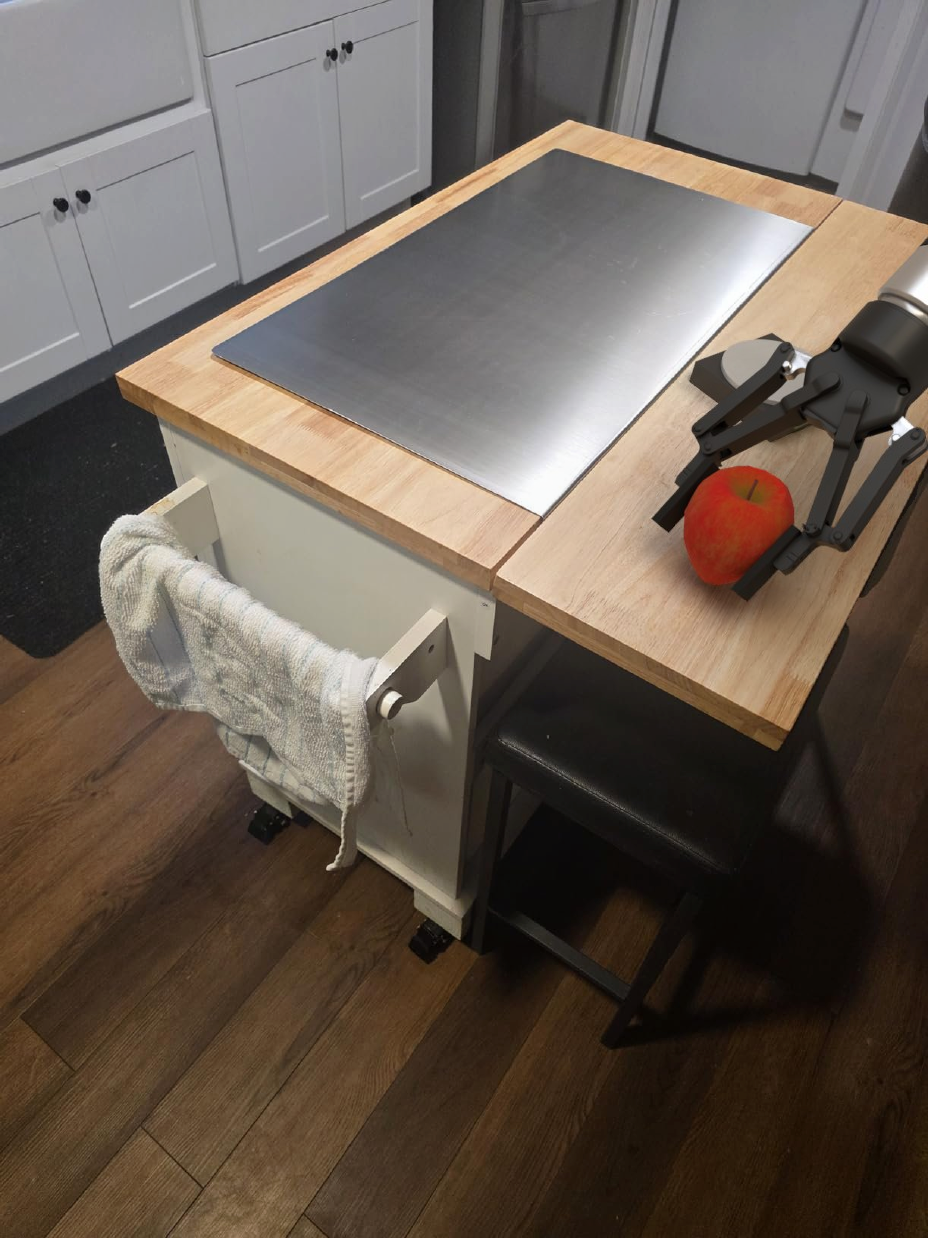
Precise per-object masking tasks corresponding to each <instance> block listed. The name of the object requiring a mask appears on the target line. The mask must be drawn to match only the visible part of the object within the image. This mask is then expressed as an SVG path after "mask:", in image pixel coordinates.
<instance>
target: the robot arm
mask: <svg viewBox="0 0 928 1238" xmlns="http://www.w3.org/2000/svg"><path fill="white" fill-rule="evenodd" d="M876 298H877V299H874V300H870V301H868V302H867V303H865V305H864V306H863V307H862V308H861V309H860V310H859V311H858V312H857V314H856V315H855V316H854V317H853V318H852V319H851V320H850V321H849V322H848V324H846V326H844V328H843V329H842V330H841V331H840V332H839V333H838V335H837V336H836V338H835V339H834V340H833V342H832V343H831V344H830V345H829V346H828V348H826V349H825V350H824V351H822V352H820V353H817V354H815V355H814V357H810V356H808V355H805V354H803V353H801V352H798V351H796V350H795V349H794V348H793V346H794V345H793V344H792V342H790V341H785V342H783V343H781V344H780V345H779V346H778V347H777V349H776V350H775V352H774V353H773V355H772V356H771V358H770V359H769V360H768V362H767V363H766V365H765V366H763V367H762V368H761V369H760V370H759V371H757V372H756V373H755V374H754V375H753V376H751V377H750V378H749V379H748V380H746V381H745V382H744V383H743V384H742V385H740V386H739V387H738V388H737V389H736V390H734V391H733V392H732V393H731V394H729V395H728V396H727V397H726V398H725V399H723V400H722V401H721V402H720V403H717V404H716V405H715V406H714V407H712V408H711V409H709V410H708V411H707V412H706V413H705V414H704V415H703V416H701V417H699V419H698V420H696V421H695V422H694V423H693V424H692V426H691V429H690V431H691V433H692V435H693V436H694V438H695V440H696V442H697V443H698V447H699V448H698V451H697V453H696V454H695V455H694V457H693V458H692V459H691V460H690V461H688V463H687V464H686V465H685V466H684V468H683V469H681V471H680V472H679V473H678V474H677V475H676V478H675V480H674V484H675V485H676V486H677V487H678V488H677V489H676V490H675V492H673V494H672V495H671V496H670V497H669V498H668V500H666V501H665V503H664V504H663V505H662V506H661V507H660V508H659V509H658V510H657V511H656V512H655V514H654V515H653V516H652V517H651V518H650V519H651V520H652V521H653V522H654V523H656V524H657V525H658V526H659V527H660V528H662V529H663V530H664V531H665V532H666V533H668V534H670V532H671V531H672V530H673V529H674V527H676V526H677V525H678V524H679V522H680V521H681V520H682V519H684V515H685V509H686V508H687V506H688V504H689V502H690V499H691V497H692V496H693V494H694V492H695V491H696V489H697V487H698V486H699V485H700V484H701V483H702V481H703V480H705V479H706V478H708V477H709V476H711V475H712V474H714V473H715V472H717V471H718V470H720V469H721V468H722V467H723V465H722V463H723V462H725V461H727V460H729V459H731V458H733V457H735V456H737V455H739V454H741V453H743V452H746V451H747V450H748V449H751V448H753V447H755V446H757V445H758V444H761V443H762V442H765V441H768V440H767V439H769V438H771V437H773V436H775V435H777V434H779V433H781V432H783V431H785V430H787V429H788V428H790V427H797V426H800V425H802V424H804V423H806V422H809V423H810V425H811V426H813V427H814V428H817V429H820V430H823V431H825V433H826V434H827V435H828V436H829V438H830V439H831V440H833V442H832V449H831V452H830V455H829V458H828V460H827V464H826V466H825V469H824V472H823V474H822V476H821V479H820V482H819V486H818V488H817V491H816V493H815V496H814V499H813V502H812V505H811V508H810V510H809V513H808V515H807V518H806V522H805V524H804V523H801V529H802V530H801V529H800V528H798V527H797V526H796V525H795V524H794V525H793V524H792V525H791V526H790V527H789V528H788V529H787V530H786V531H785V532H784V533H783V534H782V535H781V536H780V537H779V538H778V539H777V541H776V542H775V543H774V544H773V545H772V546H771V547H770V548H769V549H768V550H767V551H766V552H765V553H764V554H763V555H762V556H761V557H760V558H759V559H758V561H757V562H756V563H755V564H754V565H753V566H752V567H751V568H750V569H749V570H748V571H747V572H746V573H745V574H744V575H743V576H742V577H741V578H740V579H739V580H738V581H736V582H735V583H734V584H733V585H732V586H731V588H730V590H731V591H732V592H734V593H735V594H736V595H737V596H738V597H739V598H741V599H742V600H744V601H745V602H746V603H748V602H749V601H751V599H752V598H753V597H754V596H755V595H756V594H757V593H758V592H759V591H760V590H761V588H763V586H765V584H766V583H768V581H769V580H770V579H772V577H773V576H774V575H775V574H776V573H777V572H778V571H779V572H780V573H781V574H783V575H784V576H785V577H786V576H788V575H791V574H793V573H794V572H795V571H796V570H797V568H798V567H799V566H801V564H802V563H803V562H805V560H806V559H807V558H808V557H809V556H810V555H812V553H813V552H814V551H815V550H816V549H817V548H819V547H828V548H831V549H834V550H837V551H838V552H840V553H847V552H849V551H850V550H852V548H853V547H854V545H855V544H856V542H857V540H858V539H859V538H860V536H861V534H863V532H864V530H865V529H866V528H867V526H868V525H869V523H870V521H871V520H872V518H873V517H874V515H875V514H876V512H877V511H878V509H879V508H880V506H881V505H882V503H883V502H884V500H885V499H886V497H887V496H888V494H890V491H891V490H892V489H893V487H894V486H895V484H896V483H897V481H898V479H899V478H900V476H902V474H903V472H904V471H905V469H906V468H908V466H910V465H911V464H912V463H914V462H915V461H916V460H918V459H920V457H921V456H923V455H924V454H925V453H927V451H928V438H927V434H926V431H925V430H924V429H923V428H922V427H919V426H915V425H913V424H912V423H911V422H910V421H909V420H907V419H906V417H907V413H908V410H909V408H910V407H911V405H912V404H913V403H914V402H916V401H917V400H919V398H920V397H921V396H922V394H924V393H925V392H926V390H928V236H927V237H926V238H925V239H924V240H923V241H922V243H921V244H920V245H919V246H918V247H917V248H916V249H915V250H914V251H913V253H912V254H911V255H909V256H908V258H907V259H906V260H905V261H904V262H903V263H902V264H901V265H900V266H899V267H898V268H897V269H896V271H894V273H893V274H892V275H891V276H890V277H889V278H888V279H887V280H886V281H885V282H884V283H883V284H882V285H881V286H880V288H878V290H877V294H876ZM792 345H793V346H792ZM801 373H805V377H804V383H803V387H802V388H800V389H798V390H796V391H794V392H792V393H790V394H788V395H786V396H785V397H783V398H782V399H781V401H780V402H779V403H777V404H775V405H774V406H772V407H770V408H768V409H766V410H764V411H762V412H760V413H758V414H756V415H754V416H752V417H750V418H749V419H747V420H745V421H742V419H743V418H744V417H746V416H747V415H748V414H749V413H750V412H752V411H753V410H754V409H755V408H757V407H758V406H759V405H760V404H762V403H763V402H764V401H765V400H767V399H768V398H769V397H770V396H772V395H773V394H774V393H775V392H776V391H778V390H779V389H780V388H781V387H782V386H783V385H784V384H785V383H786V381H787V380H794V379H795V378H796V376H798V375H799V374H801ZM891 431H892V434H891V435H890V436H889V438H888V440H887V445H888V447H887V448H886V450H885V451H884V452H883V453H882V454H881V456H880V458H879V459H878V460H877V462H876V463H875V466H874V467H873V468H872V470H871V471H870V472H869V474H868V476H867V477H866V478H865V480H864V482H863V483H862V484H861V486H860V488H859V489H858V490H857V492H856V493H855V495H854V497H853V498H852V500H851V501H850V502H849V504H848V505H847V507H846V509H845V510H844V512H843V513H842V515H841V516H840V517H839V519H838V520H837V522H836V524H835V525H834V526H833V523H834V521H835V518H836V515H837V512H838V510H839V507H840V504H841V501H842V498H843V496H844V492H845V490H846V488H847V485H848V482H849V480H850V477H851V474H852V471H853V469H854V466H855V463H856V462H857V461H858V460H859V458H860V456H861V455H860V454H861V451H862V449H863V447H864V444H865V441H866V439H868V438H871V437H875V436H877V435H881V434H885V433H888V432H891Z"/></svg>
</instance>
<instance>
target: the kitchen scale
mask: <svg viewBox="0 0 928 1238" xmlns="http://www.w3.org/2000/svg"><path fill="white" fill-rule="evenodd" d="M783 342H786V341H785V340H784V339H782V338H781V337H779V336H778V335H776V334H775V333H773V332H770V333H768V334H766V335H762V336H760V337H756V338H754V339H746V340H742V341H739V342H736V343H734V344H732V345H730V346H729V347H728V348H727V349H724V350H722V351H719V352H716V353H714V354H712V355H709V356H706V357H703V358H700V359H698V360H696V361H695V362H694V364H693V368H692V371H691V374H690V377H689V382H690V383H691V384H693V386H695V387H696V388H697V389H699V390H700V391H702V392H703V393H704V394H706V395H707V396H708V397H710V398H711V399H712V400H714V401H715V402H717V404H719V403H720V402H721V401H722V400H723V399H725V398H726V397H727V396H728V395H729V394H731V393H732V392H733V391H734V390H736V389H737V388H738V387H739V386H740V385H742V384H743V383H744V382H745V381H746V380H748V379H749V378H750V377H751V376H753V375H754V374H755V373H756V372H757V371H759V370H760V369H761V368H762V367H763V366H765V365H766V363H767V362H768V360H769V359H770V358H771V356H772V355H773V353H774V352H775V350H776V349H777V347H778V346H779V345H780V344H781V343H783ZM792 346H793V348H794V349H795V350H796V351H798V352H801V353H803V354H805V355H808V356H810V357H814V356H815V355H814V354H813V353H811V352H809V351H807V350H805V349H803V348H801V347H798V346H796V345H793V344H792ZM804 377H805V373H801V374H799V375H798V376H796V378H795V379H794V380H787V381H786V383H785V384H784V385H783V386H782V387H781V388H780V389H779V390H778V391H776V392H775V393H774V394H773V395H772V396H770V397H769V398H768V399H767V400H765V401H764V402H763V403H762V404H760V405H759V406H758V407H757V408H755V409H754V410H753V411H752V412H750V413H749V414H748V415H747V416H746V417H744V418H743V419H742V420H741V422H743V421H745V420H747V419H749V418H750V417H752V416H754V415H756V414H758V413H760V412H762V411H764V410H766V409H768V408H770V407H772V406H774V405H775V404H777V403H779V402H780V401H781V399H782V398H783V397H785V396H786V395H788V394H790V393H792V392H794V391H796V390H798V389H800V388H802V387H803V383H804ZM810 425H811V424H810V423H809V422H806V423H804V424H802V425H800V426H797V427H790V428H788V429H787V430H785V431H783V432H781V433H779V434H777V435H775V436H773V437H771V438H769V439H767V440H766V441H769V443H771V442H774V441H776V440H779V439H781V438H783V437H785V436H787V435H789V434H792V433H794V432H796V431H798V430H800V429H803V428H805V427H807V426H810Z"/></svg>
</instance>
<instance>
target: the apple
mask: <svg viewBox="0 0 928 1238" xmlns="http://www.w3.org/2000/svg"><path fill="white" fill-rule="evenodd" d="M719 469H720V470H718V471H717V472H715V473H714V474H712V475H711V476H709V477H708V478H706V479H705V480H703V481H702V483H701V484H700V485H699V486H698V487H697V489H696V491H695V492H694V494H693V496H692V497H691V499H690V502H689V504H688V506H687V508H686V509H685V515H684V517H683V530H682V531H683V543H684V547H685V549H686V553H687V555H688V559H689V561H690V564H691V565H692V567H693V569H694V570H695V572H696V574H697V576H698V577H699V578H700V579H701V580H702V581H703V582H704V583H706V584H709V585H713V586H721V585H727V584H731V583H734V582H735V583H736V582H738V581H739V579H740V578H741V577H742V576H743V575H744V574H745V573H746V572H747V571H748V570H749V569H750V568H751V567H752V566H753V565H754V564H755V563H756V562H757V561H758V559H759V558H760V557H761V556H762V555H763V554H764V553H765V552H766V551H767V550H768V549H769V548H770V547H771V546H772V545H773V544H774V543H775V542H776V541H777V539H778V538H779V537H780V536H781V535H782V534H783V533H784V532H785V531H786V530H787V529H788V528H789V527H790V526H791V525H792V524H793V525H794V526H795V505H794V501H793V498H792V494H791V491H790V489H789V486H788V485H786V484H785V482H784V481H783V480H782V479H780V478H779V477H778V476H776V475H774V474H773V473H771V472H770V471H767V470H765V469H762V468H758V467H755V466H751V465H734V466H730V467H724V468H719Z"/></svg>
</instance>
